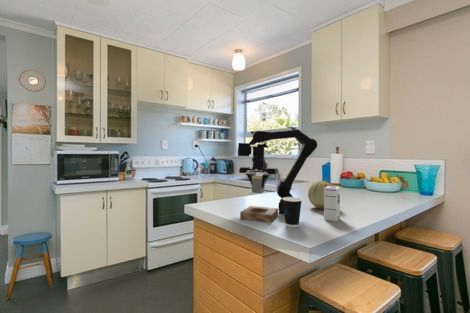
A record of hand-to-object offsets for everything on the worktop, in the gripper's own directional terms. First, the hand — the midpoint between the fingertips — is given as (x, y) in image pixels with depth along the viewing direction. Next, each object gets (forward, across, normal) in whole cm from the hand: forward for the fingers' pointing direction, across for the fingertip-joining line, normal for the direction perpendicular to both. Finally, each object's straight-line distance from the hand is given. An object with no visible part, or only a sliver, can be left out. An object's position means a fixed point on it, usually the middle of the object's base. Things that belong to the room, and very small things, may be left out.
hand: (258, 187), depth 126 cm
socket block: (+12, -4, +9) cm, 15 cm away
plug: (+2, 0, 0) cm, 2 cm away
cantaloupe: (+12, -29, -22) cm, 38 cm away
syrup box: (+12, -34, -1) cm, 37 cm away
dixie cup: (+12, -20, +16) cm, 29 cm away
